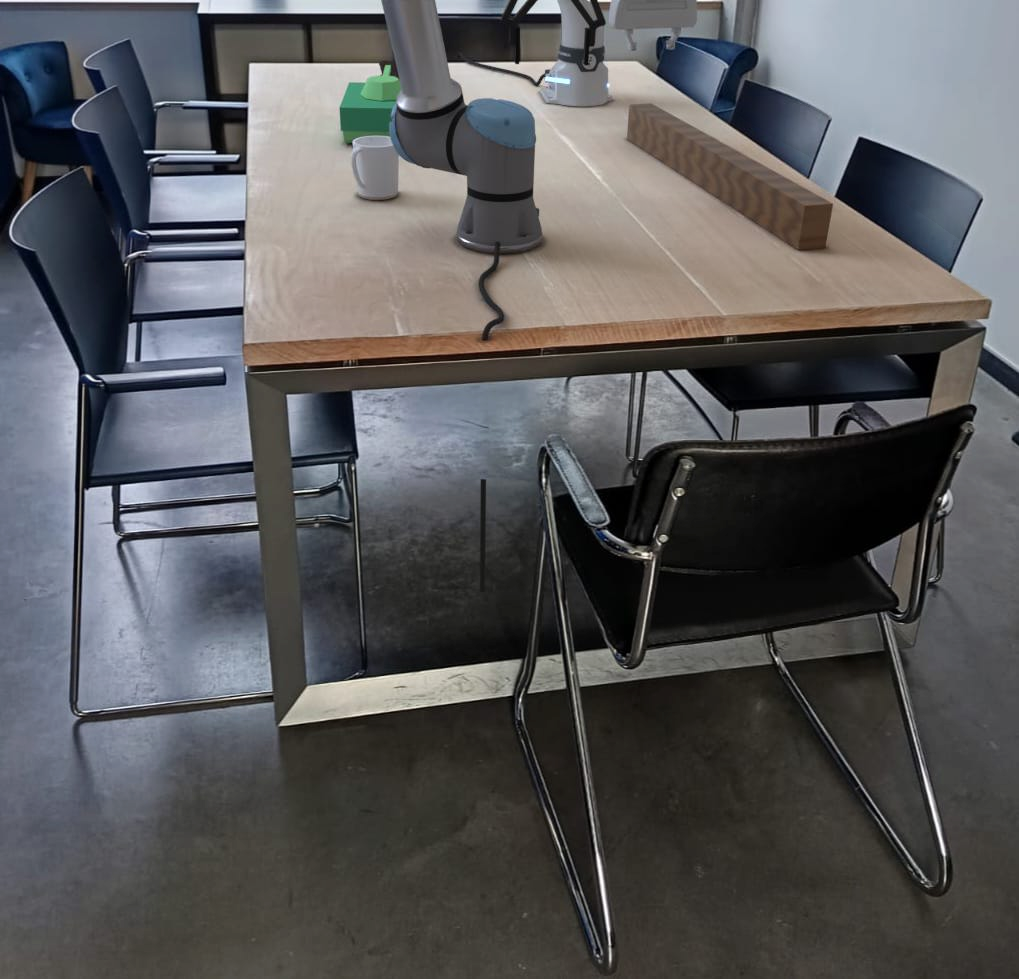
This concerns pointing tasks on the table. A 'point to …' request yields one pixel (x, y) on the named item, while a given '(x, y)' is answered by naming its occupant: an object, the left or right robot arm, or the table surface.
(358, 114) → the green tank
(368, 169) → the mug
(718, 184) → the bar
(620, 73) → the table surface
